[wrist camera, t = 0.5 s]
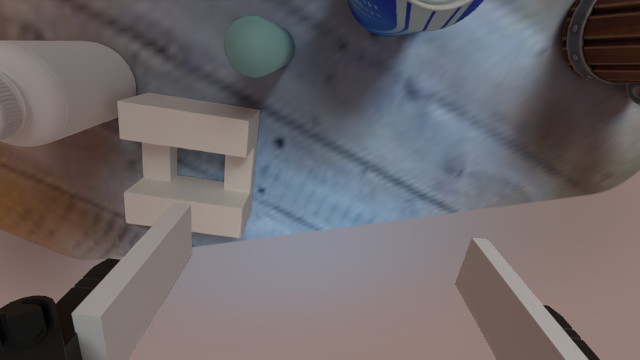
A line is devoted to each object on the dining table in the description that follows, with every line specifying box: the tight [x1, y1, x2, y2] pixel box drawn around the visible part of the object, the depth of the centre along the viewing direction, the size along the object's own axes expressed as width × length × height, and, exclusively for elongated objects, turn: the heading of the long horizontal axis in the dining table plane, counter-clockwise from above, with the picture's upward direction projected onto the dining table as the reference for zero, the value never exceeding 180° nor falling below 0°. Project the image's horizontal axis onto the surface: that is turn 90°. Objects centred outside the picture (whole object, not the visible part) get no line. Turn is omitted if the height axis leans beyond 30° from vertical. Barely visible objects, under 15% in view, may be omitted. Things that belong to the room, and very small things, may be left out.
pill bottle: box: [0, 41, 136, 147], centre depth 28 cm, size 8×8×15 cm
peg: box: [224, 15, 295, 78], centre depth 28 cm, size 4×4×12 cm
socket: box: [117, 93, 260, 238], centre depth 36 cm, size 13×12×6 cm
